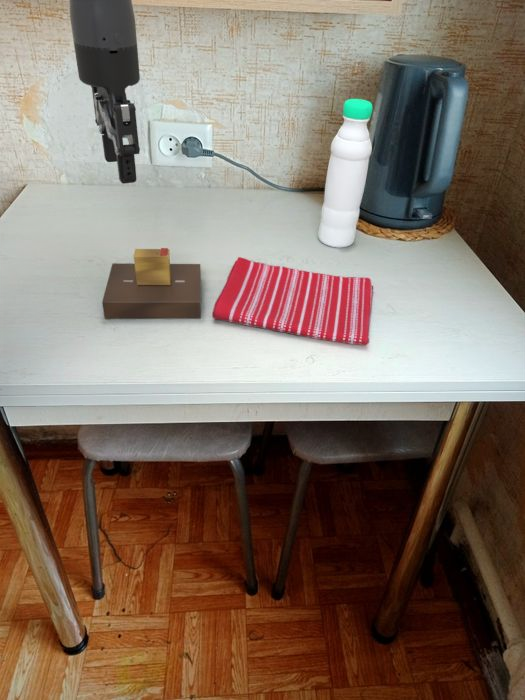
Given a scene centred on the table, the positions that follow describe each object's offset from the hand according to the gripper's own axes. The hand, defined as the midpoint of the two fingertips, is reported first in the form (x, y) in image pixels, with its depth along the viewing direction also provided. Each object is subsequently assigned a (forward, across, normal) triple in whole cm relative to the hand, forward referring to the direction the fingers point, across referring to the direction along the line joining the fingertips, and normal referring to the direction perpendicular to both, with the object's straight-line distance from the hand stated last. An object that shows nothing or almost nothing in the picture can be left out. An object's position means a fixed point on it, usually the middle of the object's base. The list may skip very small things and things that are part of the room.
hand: (120, 171), depth 72 cm
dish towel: (+18, +16, +22) cm, 33 cm away
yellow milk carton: (+15, +7, +2) cm, 16 cm away
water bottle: (+18, 0, +40) cm, 44 cm away
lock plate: (+18, +7, +2) cm, 19 cm away
